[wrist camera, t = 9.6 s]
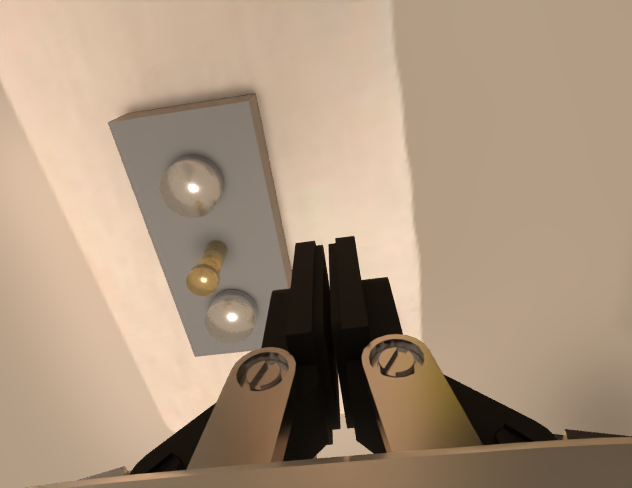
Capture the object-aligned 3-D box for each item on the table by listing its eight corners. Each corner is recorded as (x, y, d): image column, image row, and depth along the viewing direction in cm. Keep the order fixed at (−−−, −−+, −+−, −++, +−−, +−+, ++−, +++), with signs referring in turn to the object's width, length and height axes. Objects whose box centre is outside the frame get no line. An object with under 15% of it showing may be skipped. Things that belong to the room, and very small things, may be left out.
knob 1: (175, 147, 39) (151, 167, 34) (225, 140, 39) (209, 159, 33) (190, 194, 41) (170, 221, 36) (237, 188, 41) (224, 214, 35)
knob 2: (214, 272, 46) (199, 307, 40) (256, 267, 45) (247, 301, 40) (224, 307, 48) (212, 345, 42) (265, 303, 47) (258, 340, 42)
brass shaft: (200, 239, 40) (182, 272, 34) (227, 235, 39) (212, 268, 34) (208, 262, 41) (191, 297, 36) (233, 259, 41) (220, 294, 35)
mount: (127, 113, 38) (107, 122, 35) (255, 93, 37) (248, 100, 34) (203, 333, 50) (194, 356, 47) (301, 322, 49) (300, 345, 46)
